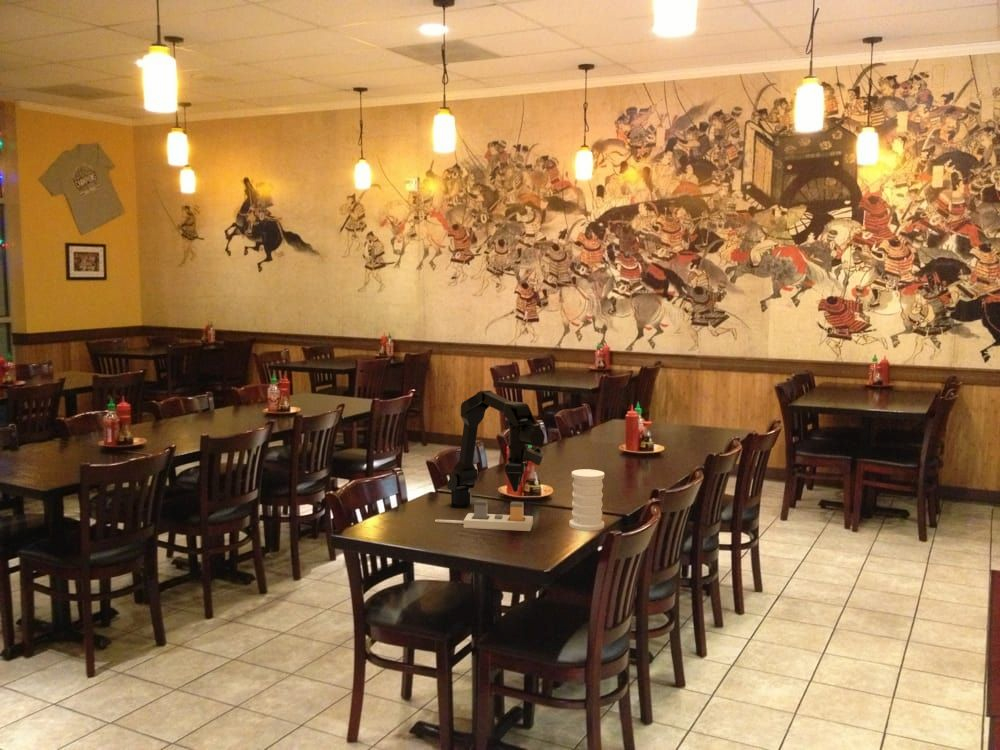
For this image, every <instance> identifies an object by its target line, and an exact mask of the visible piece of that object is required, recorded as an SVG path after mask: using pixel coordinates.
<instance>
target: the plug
mask: <svg viewBox="0 0 1000 750" xmlns="http://www.w3.org/2000/svg"><path fill="white" fill-rule="evenodd" d="M509 505H510V506H509V515H510V521H523V516H524V501H511V502H510V503H509Z"/></svg>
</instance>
